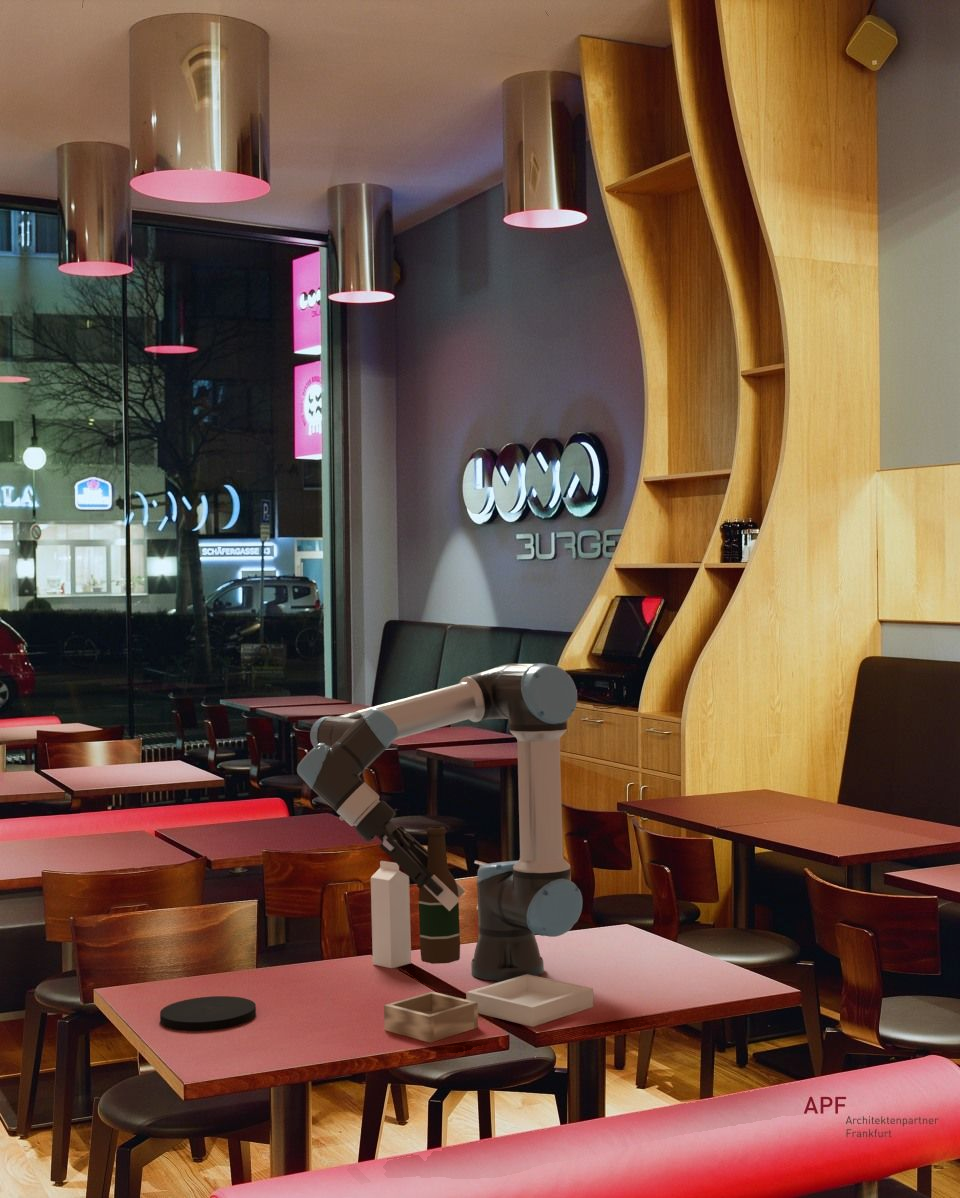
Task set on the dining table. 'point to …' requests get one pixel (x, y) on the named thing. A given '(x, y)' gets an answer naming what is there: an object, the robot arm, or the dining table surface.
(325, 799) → the robot arm
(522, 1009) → the tray
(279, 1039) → the dining table surface
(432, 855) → the beer bottle
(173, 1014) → the wireless charger
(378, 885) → the milk
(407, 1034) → the box
